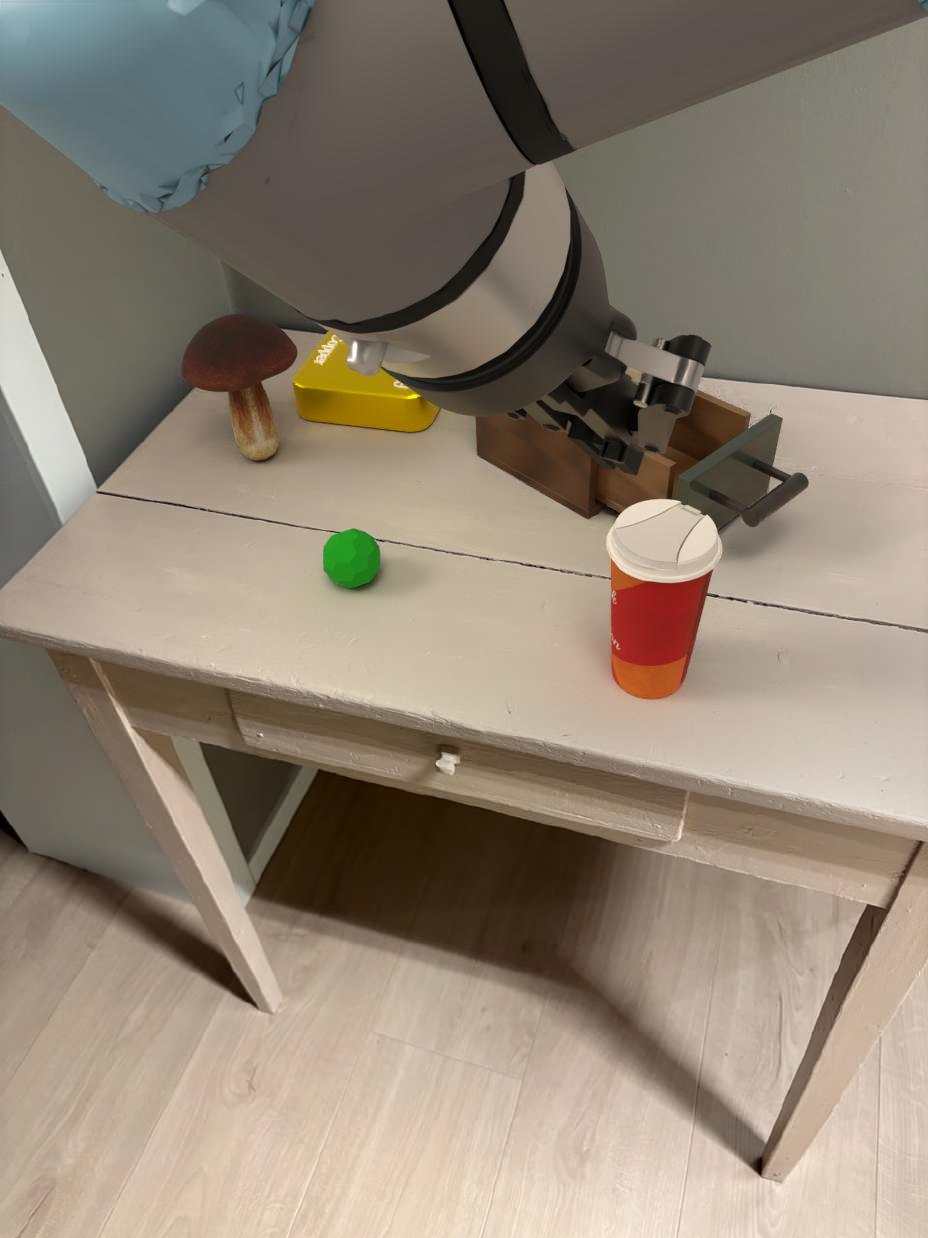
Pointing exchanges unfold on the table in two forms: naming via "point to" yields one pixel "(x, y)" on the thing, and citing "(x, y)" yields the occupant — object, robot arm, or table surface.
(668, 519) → the paper cup
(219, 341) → the decorative mushroom
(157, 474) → the table surface
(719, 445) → the drawer
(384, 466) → the table surface
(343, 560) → the polyhedron
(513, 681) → the table surface
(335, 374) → the element tile
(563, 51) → the robot arm
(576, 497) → the cabinet
